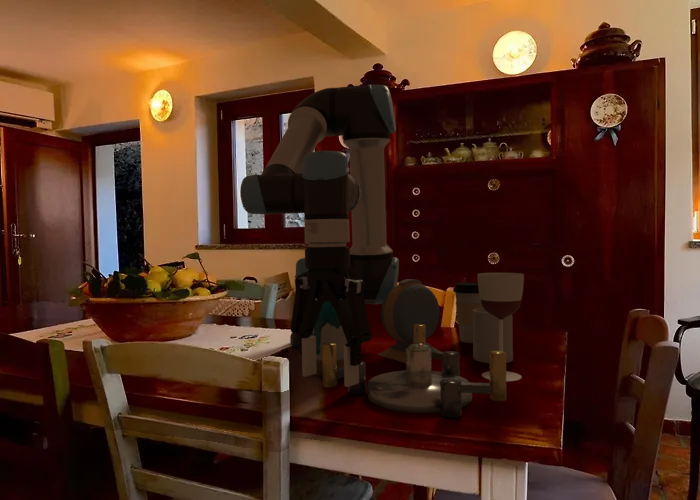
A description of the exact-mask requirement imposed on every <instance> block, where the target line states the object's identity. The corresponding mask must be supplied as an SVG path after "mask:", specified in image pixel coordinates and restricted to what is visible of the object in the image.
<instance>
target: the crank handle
mask: <svg viewBox="0 0 700 500" xmlns="http://www.w3.org/2000/svg"><path fill="white" fill-rule="evenodd" d="M413 333H414V344H424V345H426V343H427V341H426V340H427V339H426V325H425V324H414V325H413ZM439 351H440V350H439ZM439 351H433V350H431V360H432V359H435V360H440V361H441V363H442V364H441V365H442V372H444V373H449V374H453V375H457V376H460V375H461V374H460V373H461V372H460V371H461V370H460V366H461V365H460V362H461V361H460V352H457V351H452V350H451V351H450V350H448V351H441V352H439ZM460 377H461V376H460Z"/></svg>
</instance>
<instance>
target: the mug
mask: <svg viewBox="0 0 700 500" xmlns="http://www.w3.org/2000/svg"><path fill="white" fill-rule="evenodd" d="M513 339H514V338H513V314H511V315H509V316H507V317H506V318H504V319H503V352H506V364H509V363H511V362H512V361H514V349H513V347H514V346H513V345H514V344H513V343H514V342H513ZM472 344H473V345H472V346H473V347H472V356H473V359H474V361H476V362H479V363H484V364H490V355H489V352H490V351H499V319H498V318H497V317H495V316H493V315H491V314H490V313H488V312H487V311H486V310H485V309H484V308H476V309H474V310H473V343H472Z"/></svg>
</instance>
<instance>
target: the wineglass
mask: <svg viewBox="0 0 700 500" xmlns="http://www.w3.org/2000/svg"><path fill="white" fill-rule="evenodd" d="M477 282H478V288H479V295H480V299H481V304H482V306H483V308H484V309H485V310H486V311H487V312H488V313H490V314H491V315H493V316H495V317H497V318H498V319H499V351H503V319H504V318H506V317H507V316H509V315H511V314H512V315H513V314H514V313H516V312H517V311H518V310H519V309H520V307H521V304H522V299H523V298H522V297H523V293H524V284H525V273H519V272H481V273H477ZM481 376H482V377H483V378H484V379H486V380H490V370H488V371H484V372H483V373H481ZM522 377H523V376H522V375H520V374H519V373H516V372H513V371H508V370H506V382H514V381H519V380H521V379H522Z"/></svg>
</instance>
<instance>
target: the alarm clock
mask: <svg viewBox="0 0 700 500" xmlns="http://www.w3.org/2000/svg"><path fill="white" fill-rule="evenodd" d="M380 310H381V311H380V318H381V322H382V325H383V327H384V329H385V331H386V333H387V334H388V335H389V336H390V337H391V338H392V339H394V340H395V344H392V345H391V346H390V347H389V348H387V349H385V350H384V351H382V352H379V353H378V354H377V356H378V355H379V357H382V358H385V357H386V359H390V360H392V359H393V360H392V361H396V360H397V361H396V362H398V363H404V364H406V349H407V348H408V346H409V345H412V344H414V333H413V325H414V324H425V325H426V340H427V339H428V338H430V337H431V336H432V334H433V333H434V332H435V331H436V329H437V327H438V323H439V320H440V314H441V313H440V310H441V309H440V304H439V300H438V299H437V297H436V295H435V294H434V292H433V291H432V290H431V289H430V288H428V287H427V286H426V285H425V284H422V281H421V280H419V279H414V278H413V279H412V278H409V279H407V278H406V279H403V280H400V281H399V282H398V284H397V286H395V287H394V288H392V289H391V290H390V292H389V293H388V294H387V295H386V297H385V299H384V300H383V304H381V309H380ZM426 345H428V346H429V348H430V349H431V350H433V351H439V352H442V351H441V350H439V349H437V348H435V347H434V346H432V345H431V344H430V343H428V342H426Z"/></svg>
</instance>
